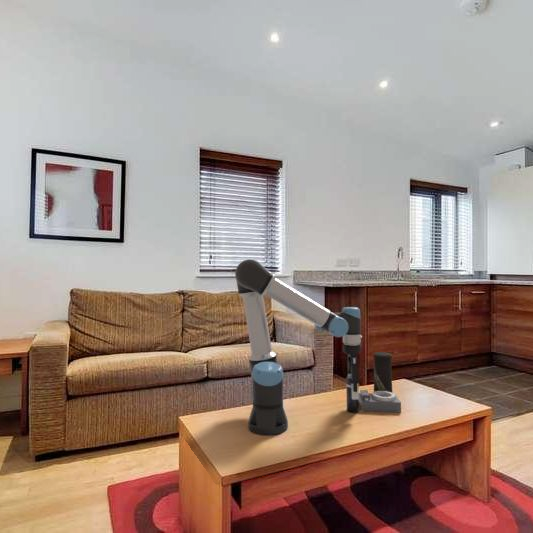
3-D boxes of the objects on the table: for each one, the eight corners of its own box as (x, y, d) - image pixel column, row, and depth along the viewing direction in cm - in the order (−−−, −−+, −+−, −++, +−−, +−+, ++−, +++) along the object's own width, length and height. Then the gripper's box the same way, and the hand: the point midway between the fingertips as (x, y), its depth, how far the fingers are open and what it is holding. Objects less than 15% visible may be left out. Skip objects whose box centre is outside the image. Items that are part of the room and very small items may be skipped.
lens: (347, 412, 157) (346, 378, 157) (345, 408, 162) (345, 375, 162) (359, 413, 156) (359, 379, 156) (358, 408, 161) (357, 375, 162)
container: (370, 392, 184) (370, 351, 184) (388, 391, 185) (387, 350, 185) (377, 397, 175) (377, 355, 176) (396, 397, 176) (395, 354, 176)
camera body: (362, 410, 159) (362, 396, 159) (358, 401, 170) (358, 388, 170) (401, 412, 157) (400, 397, 157) (395, 403, 168) (394, 389, 168)
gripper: (365, 349, 147) (366, 404, 146) (357, 338, 171) (358, 384, 171) (345, 349, 148) (347, 403, 147) (340, 338, 172) (341, 384, 172)
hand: (353, 393), depth 159 cm, fingers open, 13 cm apart
